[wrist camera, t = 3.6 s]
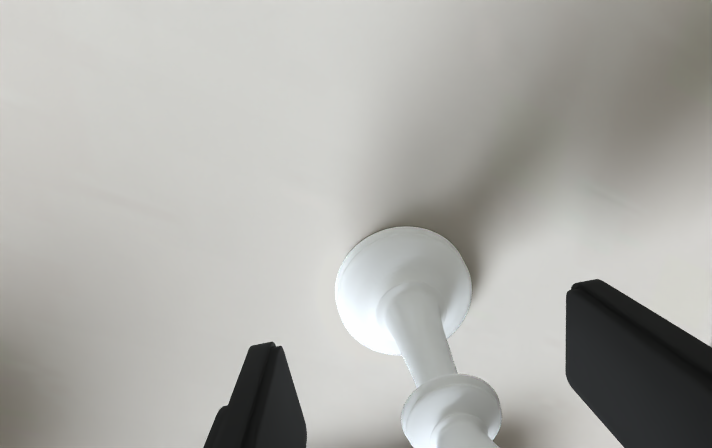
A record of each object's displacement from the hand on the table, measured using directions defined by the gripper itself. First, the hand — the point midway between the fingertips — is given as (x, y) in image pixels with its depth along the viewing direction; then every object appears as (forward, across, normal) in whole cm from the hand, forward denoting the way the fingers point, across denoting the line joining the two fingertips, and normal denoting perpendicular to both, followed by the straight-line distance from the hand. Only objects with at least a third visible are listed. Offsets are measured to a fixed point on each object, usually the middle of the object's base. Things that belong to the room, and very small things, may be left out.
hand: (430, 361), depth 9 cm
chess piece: (+4, 0, 0) cm, 4 cm away
